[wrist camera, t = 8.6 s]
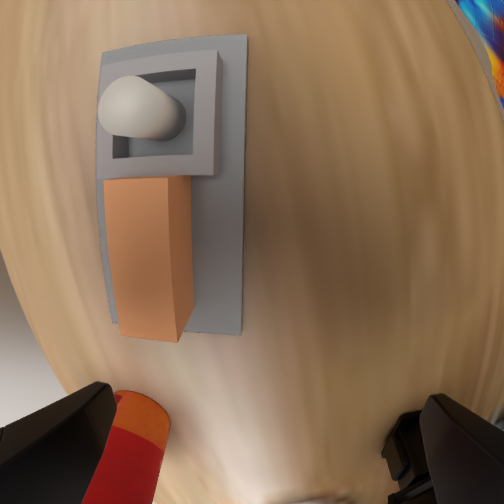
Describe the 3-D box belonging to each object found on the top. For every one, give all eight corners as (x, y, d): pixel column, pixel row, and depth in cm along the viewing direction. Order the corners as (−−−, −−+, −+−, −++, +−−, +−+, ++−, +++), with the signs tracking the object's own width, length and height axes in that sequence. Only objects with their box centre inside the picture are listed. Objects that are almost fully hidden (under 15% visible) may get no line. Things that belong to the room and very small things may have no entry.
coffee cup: (119, 437, 24) (67, 552, 10) (84, 377, 22) (-2, 502, 8) (196, 445, 23) (162, 585, 9) (168, 381, 21) (99, 554, 7)
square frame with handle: (220, 308, 18) (208, 345, 14) (124, 300, 19) (96, 331, 15) (223, 61, 14) (209, 34, 10) (117, 73, 14) (82, 56, 11)
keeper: (247, 38, 14) (238, -9, 9) (241, 330, 19) (232, 387, 14) (106, 55, 15) (56, 29, 9) (115, 318, 20) (77, 363, 14)
